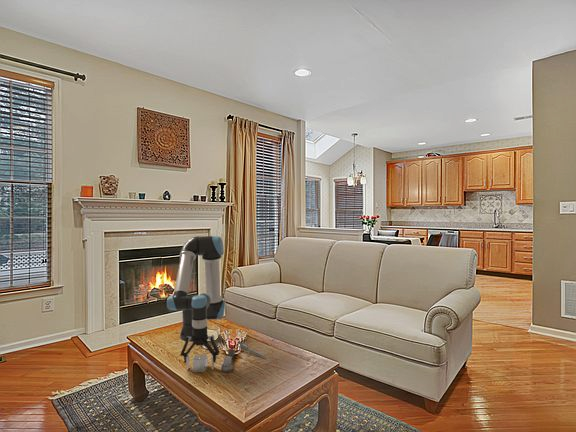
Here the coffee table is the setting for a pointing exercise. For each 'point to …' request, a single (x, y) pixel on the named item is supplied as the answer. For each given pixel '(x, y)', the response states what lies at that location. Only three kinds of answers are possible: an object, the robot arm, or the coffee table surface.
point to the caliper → (250, 350)
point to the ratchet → (228, 362)
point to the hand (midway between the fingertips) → (200, 368)
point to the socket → (200, 363)
